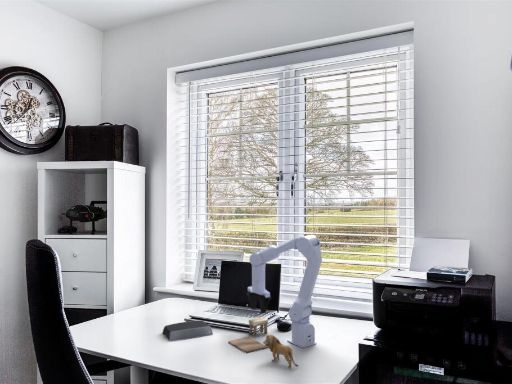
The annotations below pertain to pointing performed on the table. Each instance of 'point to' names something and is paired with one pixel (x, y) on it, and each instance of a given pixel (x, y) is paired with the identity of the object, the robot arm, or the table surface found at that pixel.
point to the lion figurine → (279, 349)
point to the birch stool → (257, 322)
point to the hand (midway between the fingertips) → (258, 310)
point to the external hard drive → (186, 330)
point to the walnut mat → (247, 344)
